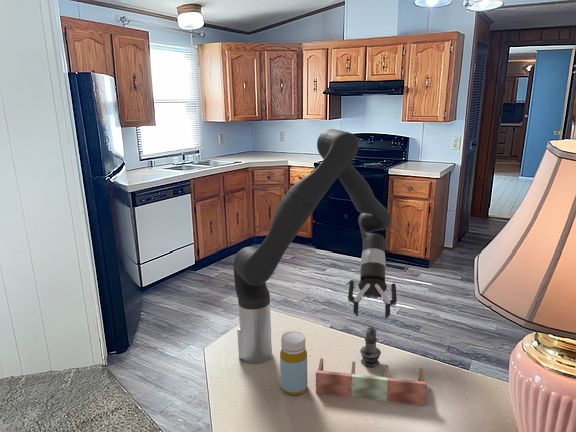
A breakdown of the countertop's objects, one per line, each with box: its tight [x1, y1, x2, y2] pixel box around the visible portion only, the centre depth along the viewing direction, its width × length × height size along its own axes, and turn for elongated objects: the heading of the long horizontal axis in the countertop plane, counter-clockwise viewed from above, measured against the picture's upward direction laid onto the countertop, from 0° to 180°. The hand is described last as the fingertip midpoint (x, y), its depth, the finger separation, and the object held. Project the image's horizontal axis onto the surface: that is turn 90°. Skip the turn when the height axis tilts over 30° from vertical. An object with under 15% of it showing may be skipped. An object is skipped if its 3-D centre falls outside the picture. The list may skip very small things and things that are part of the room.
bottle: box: [279, 330, 308, 396], centre depth 111 cm, size 7×7×15 cm
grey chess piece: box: [359, 324, 382, 369], centre depth 122 cm, size 6×6×12 cm
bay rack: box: [315, 357, 427, 406], centre depth 112 cm, size 27×10×6 cm, turn 78°
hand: (371, 316), depth 125 cm, fingers open, 8 cm apart
